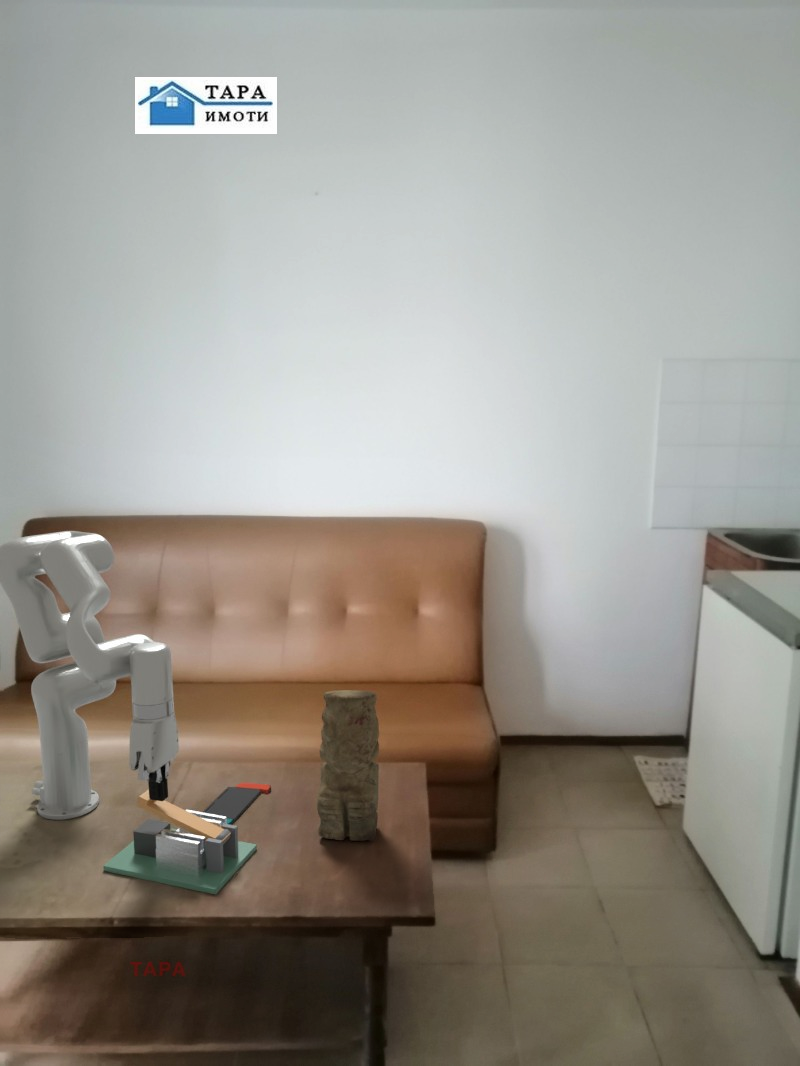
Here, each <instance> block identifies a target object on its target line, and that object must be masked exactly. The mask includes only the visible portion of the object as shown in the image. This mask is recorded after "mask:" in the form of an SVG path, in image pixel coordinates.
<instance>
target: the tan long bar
mask: <svg viewBox="0 0 800 1066" xmlns="http://www.w3.org/2000/svg"><path fill="white" fill-rule="evenodd" d="M136 807H138V808H140V809H142V810H144V811H146V812H147V813H149V814H152V815H154V816H156V817H158V818H160V819H162V820H164V821H165V822H168V823H170V824H173V825H174V826H176V827H178V828H179V827H180V828H182V829H184V830H186V831H188V832H191V833H193V834H195V835H199V836H204V837H205V838H206V840H207V839H208V838H212V839H217V840H222V841H223V844H224V843H225V842H226V841H227V840H228V839H229V838H230V836H231V832H230V831H229V830H228V829H223V828H221V827H218V826H216V825H214V824H212V823H210V822H208V821H206V820H204V819H202V818H200V817H198V816H196V815H194V814H192V813H190V812H187V811H185V810H186V809H183V808H182V807H179V806H177V805H175V804H173V803H171V802H169V801H167V800H166V799H165V800H164V801H157V800H151V799H150V798H149V788H148V789H146V791H144V792H143V793H142V794H140V795H139V796H138V799H137V805H136Z"/></svg>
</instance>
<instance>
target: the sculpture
mask: <svg viewBox="0 0 800 1066" xmlns="http://www.w3.org/2000/svg"><path fill="white" fill-rule="evenodd" d="M377 698H378V696H377V693H375V692H374V691H367V690H354V689H353V690H351V689H343V690H341V689H339V690H331V691H326V692H324V693H323V700H324V701H325V706H324V707H323V711H322V715H321V720H322V723H323V724H322V728H321V731H320V736H321V743H320V745H319V757H320V759H321V760H322V761H323V762H322V763H321V764H320V784H319V785H320V786H319V788H318V789H319V790H318V795H317V803H316V804H317V805H316V806H317V807H316V808H317V814H318V817H319V818H320V824H319V827H318V829H317V833H318V836H319V837H321V838H324V839H329V840H332V839H333V840H335V841H343V840H345V838H347V837H349V840H350V841H353V842H354V841H360V842H361V841H364V842H365V841H374V840H375V838H376V833H377V827H378V822H379V821H378V819H379V818H378V816H379V815H378V807H379V775H380V774H379V773H380V772H379V770H380V768H379V767H380V766H379V764H378V763H377V762H376V761H374V760H376V759H377V757H379V753H380V743H379V737H380V729H379V728H380V727H379V719H378V716H377V710H376V709H377V708H376V705H377V704H376V703H377Z"/></svg>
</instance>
